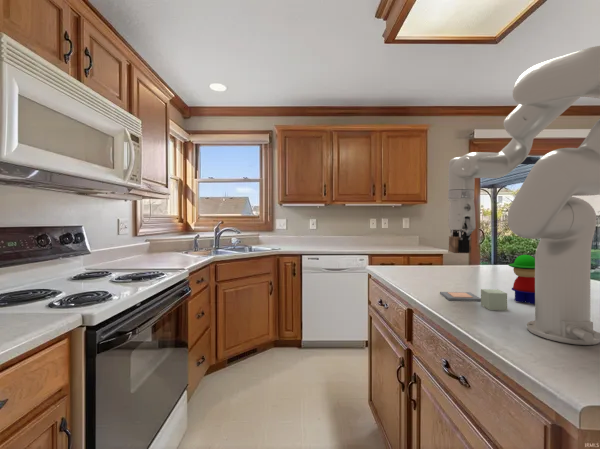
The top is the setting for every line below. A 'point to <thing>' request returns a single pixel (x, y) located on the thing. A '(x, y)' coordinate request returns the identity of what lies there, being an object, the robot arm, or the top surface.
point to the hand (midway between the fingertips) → (459, 250)
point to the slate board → (460, 296)
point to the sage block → (494, 299)
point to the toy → (524, 279)
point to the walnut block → (456, 244)
